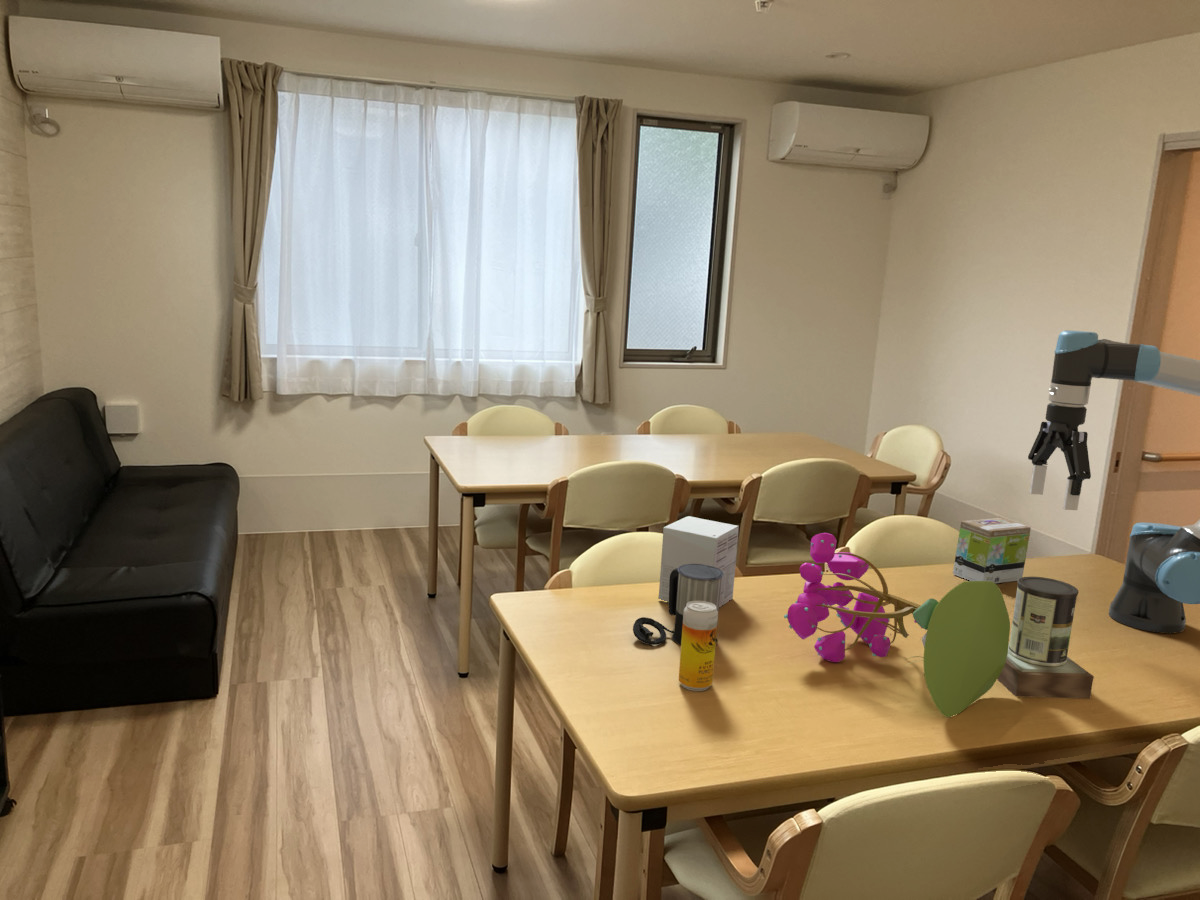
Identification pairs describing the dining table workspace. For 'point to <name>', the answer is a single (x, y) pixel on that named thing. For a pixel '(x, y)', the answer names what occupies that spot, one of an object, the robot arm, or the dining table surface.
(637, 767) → the dining table surface
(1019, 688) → the tray
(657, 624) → the milk frother
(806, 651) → the dining table surface
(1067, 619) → the coffee can
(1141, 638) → the dining table surface
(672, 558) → the supplement box
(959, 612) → the magenta flower sprig
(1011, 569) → the tea box
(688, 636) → the beer can
